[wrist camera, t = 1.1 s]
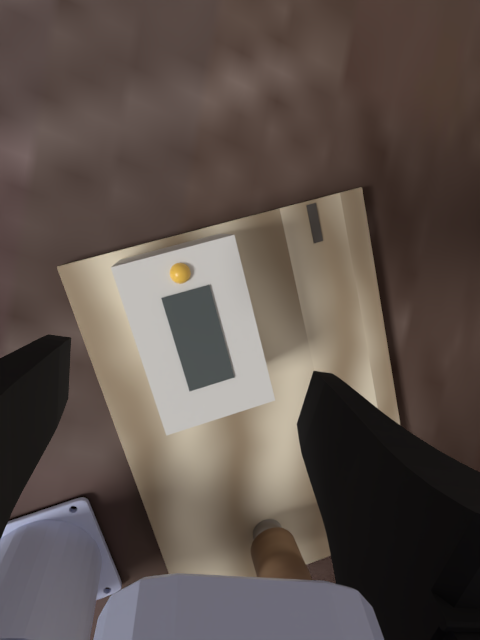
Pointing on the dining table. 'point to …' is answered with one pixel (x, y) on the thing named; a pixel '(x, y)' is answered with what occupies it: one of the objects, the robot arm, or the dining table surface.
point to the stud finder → (195, 330)
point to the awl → (276, 553)
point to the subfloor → (284, 371)
